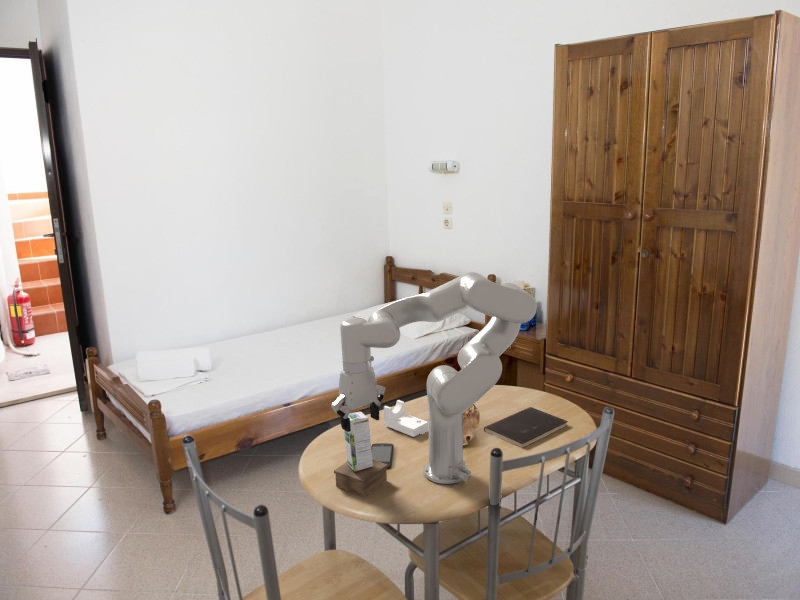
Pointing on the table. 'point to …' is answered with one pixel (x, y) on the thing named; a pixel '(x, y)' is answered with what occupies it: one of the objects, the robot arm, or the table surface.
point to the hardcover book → (525, 426)
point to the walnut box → (361, 478)
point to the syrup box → (358, 442)
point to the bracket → (404, 420)
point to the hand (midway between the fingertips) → (360, 424)
